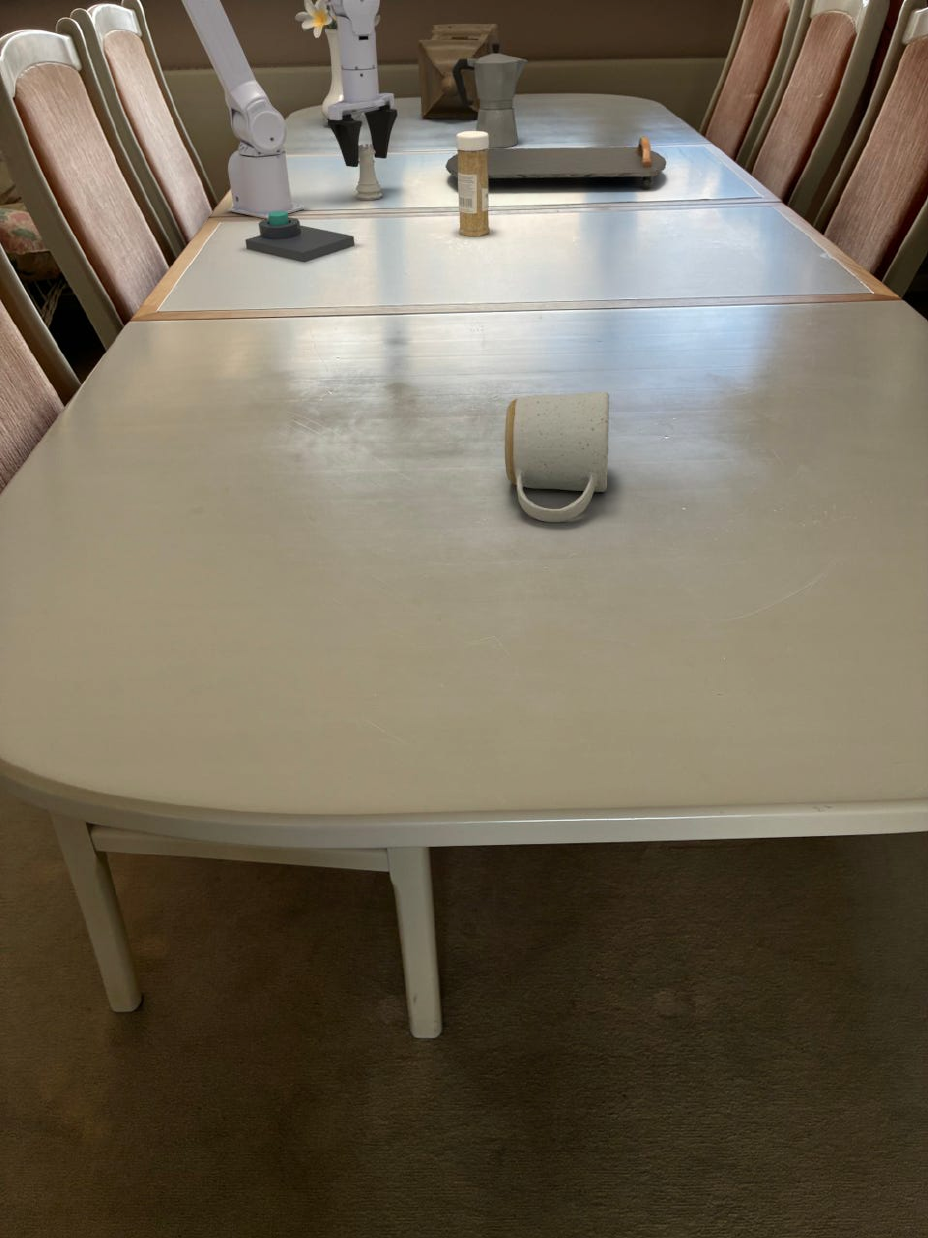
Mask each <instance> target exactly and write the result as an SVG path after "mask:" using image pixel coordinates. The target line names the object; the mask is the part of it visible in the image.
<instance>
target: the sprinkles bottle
mask: <svg viewBox="0 0 928 1238" xmlns="http://www.w3.org/2000/svg"><path fill="white" fill-rule="evenodd" d="M455 136H456V137H455V141H456V142H455V146H456V149H457V154H458V178H457V189H458V191H457V192H458V193H457V194H458V210H459V230H458V231H459V233H460V235H462V236H465V237H482V236H486V235H487V234H489V233H490V227H489V226H490V225H489V221H490V220H489V208H490V206H489V178H488V166H487V165H488V163H487V151H488V149H489V148H488V147H489V136H488V133H486V132H482V131H476V130H467V131H466V130H465V131H461V132H458V133H457V134H456V135H455Z"/></svg>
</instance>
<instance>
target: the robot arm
mask: <svg viewBox="0 0 928 1238" xmlns="http://www.w3.org/2000/svg"><path fill="white" fill-rule="evenodd" d="M322 1H323V2H324V3H326V4H327V6H329V9H330V8H331V9H330V10H331V11H332V12H333V14H334V15H335V16H337V24H338V39H339V50H340V61H341V74H342V85H343V96H344V100H341V101H339V102H337V103H335V104H333V105H329V106H328V113H329V118H328V119H326V120H327V125H328V128H329V129H330V130H331V132H332V133H333V135H334V137H335V139H336V141H337V144H338V146H339V149H340V150H341V154H342V157H343V161H344V163H345V164H344V165H345V166H346V167H349V168H350V167H351V168H357V167H359V147H358V145H360V144H359V142H360V133H361V129H362V128H361V127H362V124H363V121H362V120H358V119H357V120H354V118H352V116H353V115H357V114H361V113H362V114H364V116H365V119H366V121H367V125H368V128H369V132H370V138H371V145H373V149H374V150H375V151H376V152H375V154H374V156H373V157H374V158H376V159H387V156H388V152H389V145H390V139H391V135H392V130H393V128H394V124H395V122H396V120H397V118H398V109H396V108H394V107H395V94H394V93H391V92H382V93H380V87H379V72H378V69H379V68H378V55H377V42H376V41H377V38H376V39H375V32H376V29H375V28H376V27H374V18H375V17H376V16H377V14H378V12H379V8H380V4H381V3H380V2H381V0H322ZM181 3H182V4H183V5H182V6H183V7H184V9H185V11H186V14H187V15H188V17H189V19H190V21H191V23H192V26H193V27H194V31H196V34H197V36H198V38H199V40H200V42H201V44H202V47H203V49H204V51H205V53H206V55H207V57H208V59H209V61H210V63H211V65H212V67H213V70H214V72H215V74H216V76H217V78H218V80H219V82H220V85H221V87H222V89H223V91H224V100H225V103H226V107H227V108H228V110H229V115H230V126H231V130H232V132H233V135H234V136H235V137H236V138H237V139H238V140H239V141H240V142H239V145H238V148H237V150H235V151H234V152H233V153H232V154H231V156H230V158H229V160H228V164H227V172H228V179H229V186H230V193H231V199H232V205H233V207H230V208H229V212H232V213H236V214H241V215H246V216H250V217H251V216H252V217H256V218H261V219H264V220H266V219H269V218H268V214H269V213H271V212H275V211H284V212H287V213H288V214H291V213H294V212H298V211H302V210H304V209H305V207H304V205H300V204H295V203H292V197H291V196H292V195H291V188H290V180H289V172H288V163H287V155H286V147H285V146H284V145H285V143H286V140H287V137H288V126H287V122H286V120H285V118H284V116H283V115H282V114H281V112H280V111H278V109H276V108H274V106H273V105H272V104H271V101H270V99H269V97H268V95H267V94H266V92H265V91H264V90H263V88H262V86H261V85H260V84H259V82H258V80H257V79H256V77H255V75H254V73H253V71H252V68H251V66H250V64H249V62H248V60H247V57H246V55H245V52H244V51H243V49H242V46H241V44H240V42H239V39H238V37H237V35H236V33H235V31H234V28H233V26H232V23H231V22H230V19H229V17H228V15H227V13H226V10H225V9H224V6H223V4H222V2H221V0H181ZM362 114H361V115H362Z"/></svg>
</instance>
